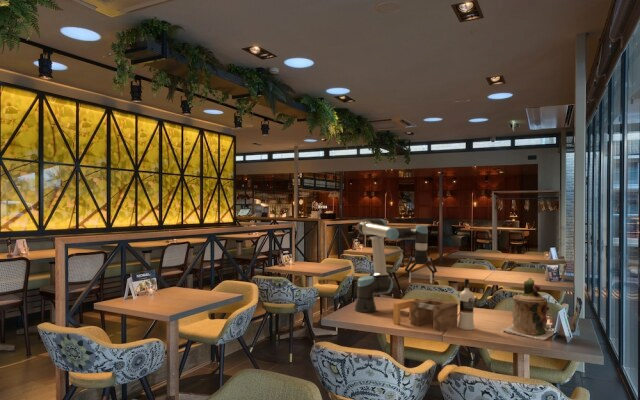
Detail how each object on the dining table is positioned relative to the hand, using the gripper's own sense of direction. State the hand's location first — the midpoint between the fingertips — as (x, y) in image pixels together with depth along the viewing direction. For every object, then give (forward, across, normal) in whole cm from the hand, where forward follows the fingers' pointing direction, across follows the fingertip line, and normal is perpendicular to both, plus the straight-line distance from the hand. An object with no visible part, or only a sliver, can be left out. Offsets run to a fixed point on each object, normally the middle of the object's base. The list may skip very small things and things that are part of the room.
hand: (420, 282), depth 295 cm
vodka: (+25, +26, -14) cm, 38 cm away
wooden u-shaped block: (+25, -10, -1) cm, 27 cm away
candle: (+25, +2, +21) cm, 33 cm away
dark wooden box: (+25, +8, -8) cm, 27 cm away
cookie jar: (+24, +62, -18) cm, 69 cm away
